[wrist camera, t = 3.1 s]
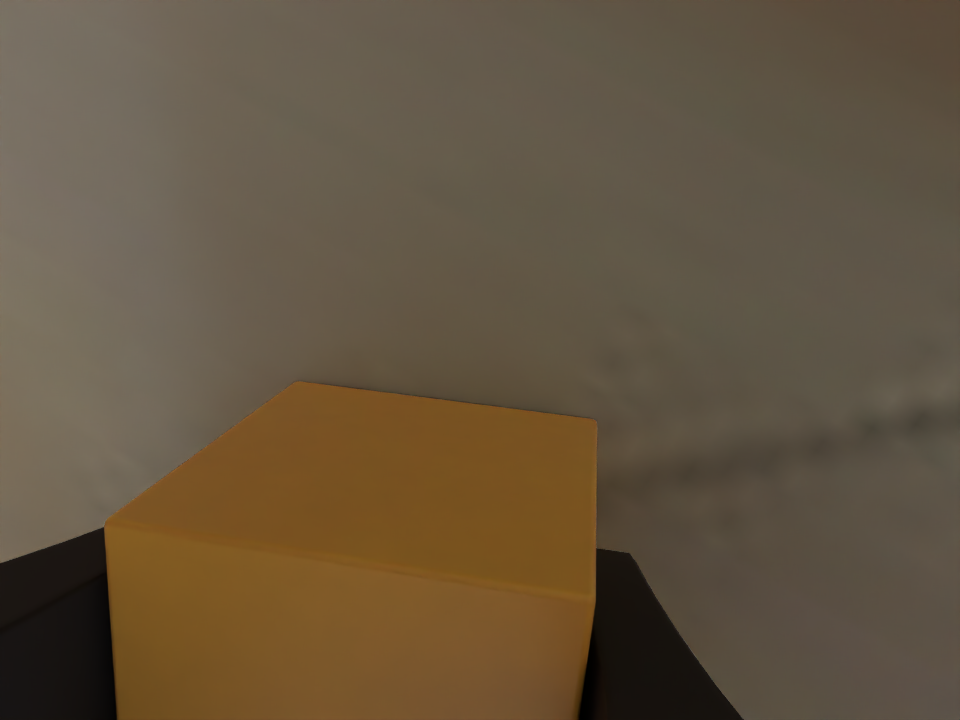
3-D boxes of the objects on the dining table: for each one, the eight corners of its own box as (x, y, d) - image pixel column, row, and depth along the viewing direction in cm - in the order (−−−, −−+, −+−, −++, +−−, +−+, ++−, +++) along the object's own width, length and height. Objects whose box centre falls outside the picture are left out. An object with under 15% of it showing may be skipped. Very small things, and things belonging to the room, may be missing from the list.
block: (562, 683, 11) (541, 990, 7) (291, 636, 12) (125, 895, 8) (597, 417, 10) (596, 597, 6) (294, 379, 11) (99, 519, 7)
